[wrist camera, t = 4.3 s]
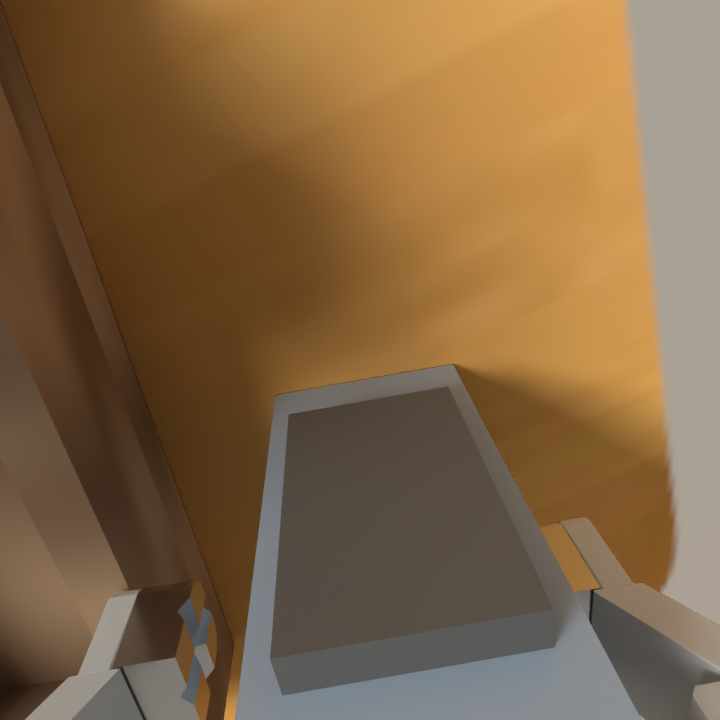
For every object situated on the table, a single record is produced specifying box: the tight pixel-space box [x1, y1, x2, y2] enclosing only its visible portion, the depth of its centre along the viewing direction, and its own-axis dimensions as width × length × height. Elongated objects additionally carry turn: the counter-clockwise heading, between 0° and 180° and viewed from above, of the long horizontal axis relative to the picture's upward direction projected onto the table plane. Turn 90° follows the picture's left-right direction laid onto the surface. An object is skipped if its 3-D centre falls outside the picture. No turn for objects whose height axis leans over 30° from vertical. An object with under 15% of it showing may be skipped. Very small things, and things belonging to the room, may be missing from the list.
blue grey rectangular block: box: [235, 364, 641, 720], centre depth 10 cm, size 5×4×8 cm
